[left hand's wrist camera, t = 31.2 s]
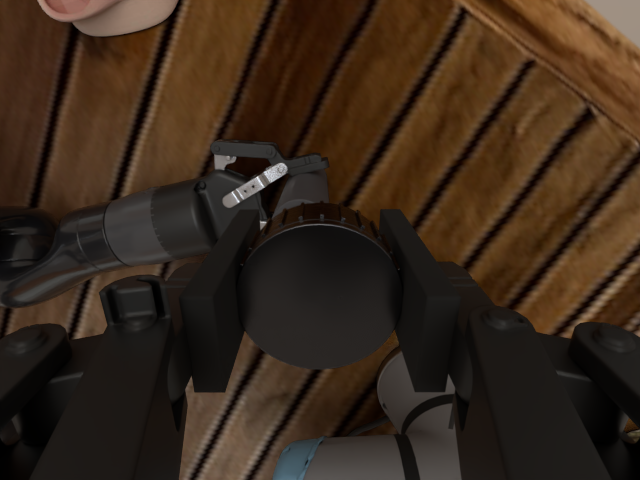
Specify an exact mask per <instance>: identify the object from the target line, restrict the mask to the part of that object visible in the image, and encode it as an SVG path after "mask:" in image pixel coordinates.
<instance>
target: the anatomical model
mask: <svg viewBox="0 0 640 480" xmlns="http://www.w3.org/2000/svg"><path fill="white" fill-rule="evenodd" d="M38 2H39V4H40V5H41V7H42V8H43V10H44V11H45V12H46V13H47V14H48V15H49V16H50V17H52V18H53V19H55V20H58V21H62V22H72V23H73V24H74V25H75V26H76V27H77V28H78V29H79V30H80V31H81V32H83V33H85V34H87V35H91V36H113V35H121V34H126V33H131V32H135V31H139V30H143V29H146V28H149V27H152V26H154V25H157V24H159V23H161V22H162V21H164V20H165V19H166V18H168V17H169V16H170V14H171V13H172V12H173V10H174V9H175V7H176V5H177V2H178V0H38Z"/></svg>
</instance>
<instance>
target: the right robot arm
mask: <svg viewBox="0 0 640 480" xmlns="http://www.w3.org/2000/svg"><path fill="white" fill-rule="evenodd" d="M210 149H211V152H212V153H213V154H214V160H215V170H213V171H212V172H211V173H210V174H209V175H207V176H204V177H200V178H196V179H191V180H187V181H183V182H179V183H174V184H170V185H166V186H161V187H152V188H148V189H147V190H144V191H140V192H137V193H133V194H130V195H128V196H125V197H123V198H120V199H117V200H113V201H108V202H104V203H100V204H95V205H91V206H87V207H83V208H79V209H76V210H73V211H71V212H69V213H68V214H66V215H65V216H64V217H63V218H62V219H61V221H60V222H59V221H58V220H57V219H56V218H55V217H54V216H53V215H52V214H50V213H49V212H47V211H45V210H43V209H40V208H35V207H27V206H0V307H2V308H24V307H30V306H34V305H37V304H40V303H43V302H46V301H48V300H51V299H53V298H55V297H57V296H59V295H61V294H63V293H64V292H66V291H68V290H70V289H71V288H73V287H75V286H77V285H79V284H81V283H82V282H84V281H86V280H89V279H91V278H93V277H95V276H97V275H99V274H102V273H106V272H110V271H115V270H120V269H124V268H129V267H134V266H139V265H151V264H159V263H164V262H169V261H173V260H178V259H183V258H187V257H192V256H197V255H201V254H206V253H210V251H211V250H212V248H213V247H214V246H215V244H216V243H217V241H218V240H219V238H220V237H221V236H222V234H223V233H224V231H225V230H226V228H227V227H228V226H229V224H230V223H231V221H232V220H233V218H234V217H235V216H236V214H237V213H238V211H239V210H240V209H259V214H260V229H262V228H263V227H264V226H265V225H266V222H267V220H268V219H269V217H270V218H271V219H272V216H273V214H274V212H270V211H269V208H268V206H267V204H266V202H265V201H264V190H263V188H265V187H266V186H267V185H269V184H270V183H272V182H273V181H275V180H277V179H279V178H280V177H282V176H284V175H287V174H290V175H291V176H294V175H298V174H303V173H307V172H312V171H316V170H320V169H325V168H328V167H329V162H328V157H324V158H321V155H320V153H311V154H307V155H303V156H298V157H294V158H286V157H284V156H283V154H282V153H281V151H280V150H279V147H278V145H277V144H276V143H274V142H262V141H246V140H231V139H221V140H218V141H215V142H213V143H212V144H211V147H210ZM238 157H253V158H267V159H268V161H269V162H270V164H271V166H269V167H267V168H265V169H263V170H262V171H260V172H258V173H257V174H255V175H253V176H252V177H247V176H245V175H242V174H240V173H238V172H235V171H233V170H230V169H228V168H227V165H228V164H229V163H234V162H235V161H236V160H237V159H238ZM16 432H17V431H16V428H15V426H14V424H13V421H12V419H11V420H10V422H9V423H8V424H7V425H6V426H5V427H4V428H3V429H2V430H1V431H0V438H1V440H2V442H3V443H6V442H7V441H8V440H9V439H11V438H12V436H13V435H14V434H15V433H16Z"/></svg>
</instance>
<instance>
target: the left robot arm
mask: <svg viewBox="0 0 640 480" xmlns="http://www.w3.org/2000/svg"><path fill="white" fill-rule="evenodd" d="M257 230H258V231H260V230H261V229H260V214H259V209H240V210H239V211H238V213H237V214H236V216H235V217H234V218H233V220H232V221H231V223H230V224H229V226H228V227H227V228H226V230H225V231H224V233H223V234H222V236H221V237H220V238H219V240H218V241H217V243H216V244H215V246H214V247H213V248H212V250H211V251H210V253H209V254H208V256H207V257H206V258H205V260H204V261H203V263H187V264H185V265H183V266H182V267H180V268H178V269H176V270H175V271H174V272H173V273H172V275H171V276H170V277H169V278H168V281H166V282H165V280H164V279H163V278H161V277H160V276H155V275H136V276H131V277H126V278H123V279H120V280H117V281H114V282H113V283H111V284H109V285H107V286H105V287H104V288H103V289H102V290H101V291H100V292H99V295H100V299H101V302H102V306H103V310H104V314H105V318H106V321H107V325H108V326H107V328H106V330H105V332H104V333H103V334H100V335H96V336H91V337H85V338H80V339H75V340H69V339H68V335H67V332H66V329H65V328H64V327H62V326H61V325H58V324H50V323H49V324H40V325H39V324H36V325H31V326H30V327H28V326H27V327H24V328H21V329H19V330H18V331H16V332H13V333H11V334H8V335H7V336H5V337H3V338H2V339H0V431H1V430H2V429H3V428H4V427H5V426H6V425H7V424H8V423H9V422H10V420H11V419H12V421H13V424H14V426H15V428H16V431H17V432H16V433H15V434H14V435H13V436H12V438H11V439H9V440H8V441H7V442H6V443H3V442H2V440H1V438H0V480H179V473H180V464H181V456H182V448H183V440H184V431H185V423H186V415H187V407H188V404H187V398H186V392H185V388H186V386H187V384H188V382H189V380H190V377H191V375H192V380H193V386H194V392H225V391H226V388H227V385H228V381H229V378H230V375H231V372H232V369H233V366H234V363H235V359H236V356H237V353H238V350H239V347H240V344H241V341H242V337H243V334H244V331H245V330H244V328H243V326H242V324H241V322H240V319H239V315H238V306H237V296H236V283H237V279H238V276H239V273H240V270H241V268H240V267H239V266H240V263H241V261H242V259H243V257H244V255H245V253H246V251H247V249H248V246H249V245H250V244H251V242H252V240H253V238H254V235H255V233H256V232H257ZM379 232H380V233H381V235H383V234H384V235H385V237H386V239H387V241H388V243H389V245H390V247H391V249H392V252H393V254H394V256H395V259H396V261H397V263H398V265H399V267H400V270H401V272H399V273H400V277H401V280H402V284H403V303H402V312H401V315H400V318H399V321H398V323H397V325H396V327H395V332H396V335H397V338H398V341H399V344H400V346H399V347H398V348H396V349H395V350H394V351H392V352H391V353H390V354H389V355H388V356H387V357H386V358H385V360H384V361H383V363H382V364H381V366H380V368H379V370H378V373H377V378H376V387H377V393H378V398H379V401H380V404H381V406H382V408H383V410H384V411H385V413H386V414H387V415H386V416H384V417H382V418H380V419H378V420H375V421H373V422H371V423H368V424H365V425H362V426H360V427H358V428H356V429H355V430H353V431H352V432H351V433H349V434H348V435H347V436H346V437H330V438H327V436H321V437H320V438H316V439H308V440H299V441H294V442H292V443H290V444H289V445H287V446H286V447H285V449H284V450H283V451H282V453H281V455H280V457H279V459H278V462H277V464H276V467H275V471H274V474H273V478H272V480H640V438H639V440H638V441H637V442H635V441H634V440H633V439H632V438H630V437H629V436H628V434H627V433H626V432H625V431H624V428H625V425H626V423H627V421H628V418H630V419H631V420H632V421H633V422H634V423H635V424H636V425H637V426H638V427H639V428H640V337H638V336H637V335H635V334H633V333H631V332H629V331H627V330H624V329H622V328H621V327H619V326H615V325H610V324H608V323H598V322H585V323H580V324H578V325H577V326H576V327H575V328H574V331H573V335H572V338H571V339H569V338H563V337H558V336H553V335H547V334H542V333H538V332H536V331H535V329H534V327H533V325H532V324H531V323H530V321H529V320H528V319H527V318H526V317H524V316H522V315H521V314H519V313H518V312H515V311H513V310H510V309H508V308H505V307H500V306H495V305H494V303H493V302H492V301H491V300H490V299H489V297H488V296H487V295H486V294H485V293H484V291H483V290H482V289H481V288H480V287H478V284H477V283H476V282H475V281H474V279H472V277H471V276H470V275H469V273H468V272H467V271H466V270H465V269H464V268H462V267H460V266H459V265H457V264H455V263H454V262H436V260H435V259H434V257H433V256H432V255H431V253H430V252H429V250H428V249H427V247H426V246H425V244H424V243H423V242H422V240H421V239H420V237H419V236H418V234H417V233H416V232H415V230H414V229H413V227H412V226H411V224H410V223H409V222H408V220H407V219H406V217H405V216H404V214H403V213H402V212H401V210H400V209H381V210H380V226H379ZM389 421H391V422H392V424H393V425H394V427H395V428H396V430H397V431H398V433H399V434H396V435H393V434H391V435H372V436H356V435H358V434H360V433H362V432H364V431H367V430H370V429H373V428H375V427H377V426H380V425H382V424H384V423H386V422H389Z"/></svg>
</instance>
